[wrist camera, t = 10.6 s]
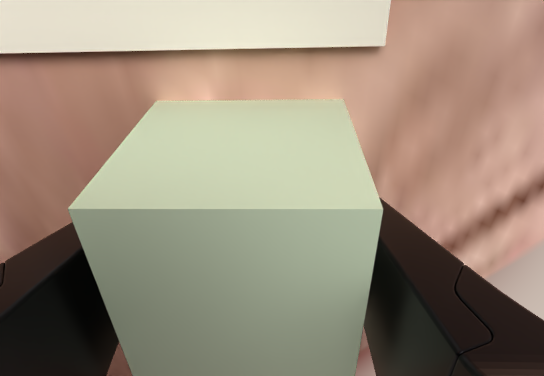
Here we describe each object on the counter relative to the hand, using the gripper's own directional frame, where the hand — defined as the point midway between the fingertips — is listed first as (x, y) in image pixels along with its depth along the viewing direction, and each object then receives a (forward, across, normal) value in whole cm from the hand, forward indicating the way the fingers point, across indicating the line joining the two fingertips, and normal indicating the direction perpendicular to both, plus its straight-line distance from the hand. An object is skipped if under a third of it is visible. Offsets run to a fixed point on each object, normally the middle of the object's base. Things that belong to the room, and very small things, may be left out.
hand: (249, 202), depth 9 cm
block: (+1, 0, 0) cm, 1 cm away
